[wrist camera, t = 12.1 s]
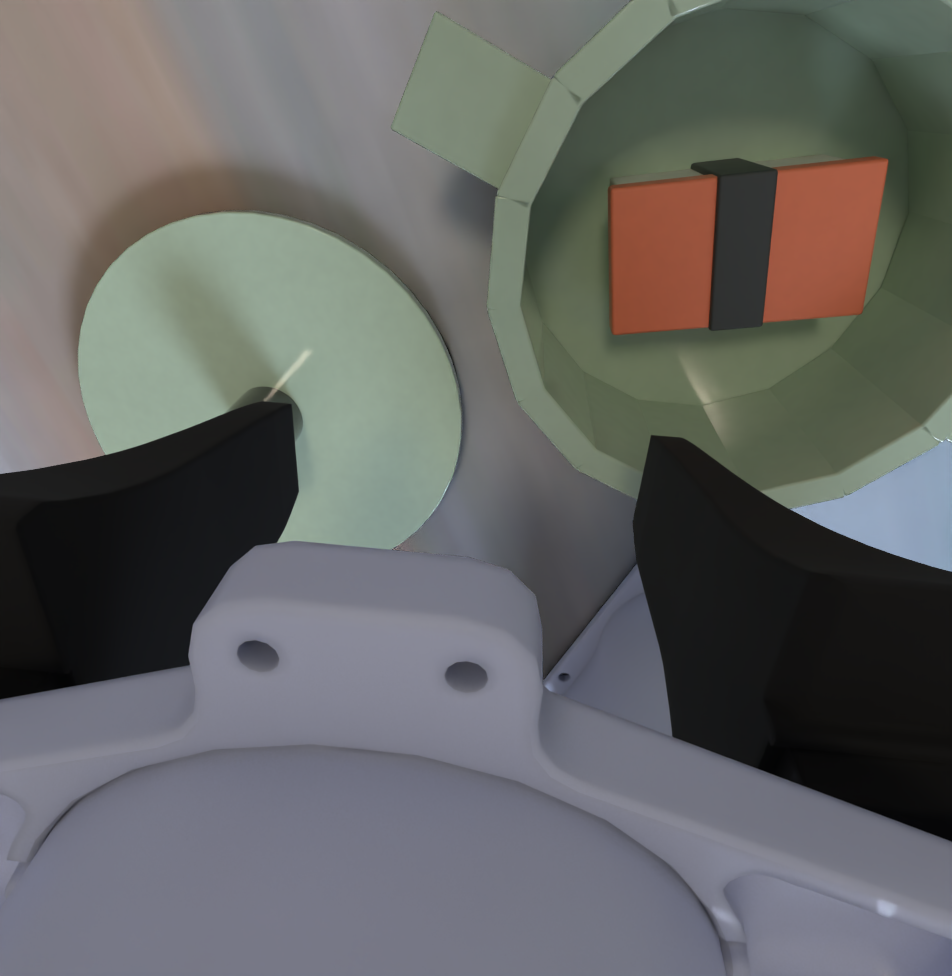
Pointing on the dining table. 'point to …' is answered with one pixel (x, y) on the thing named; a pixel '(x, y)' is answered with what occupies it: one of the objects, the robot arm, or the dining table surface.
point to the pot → (675, 146)
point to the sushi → (742, 242)
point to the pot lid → (280, 364)
